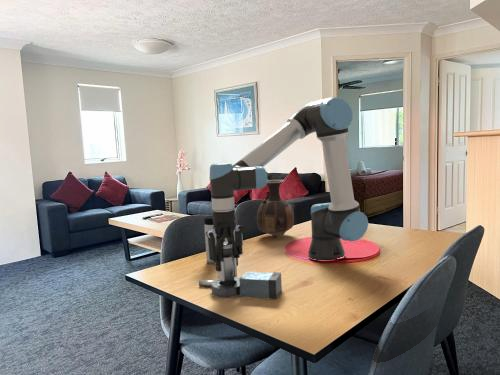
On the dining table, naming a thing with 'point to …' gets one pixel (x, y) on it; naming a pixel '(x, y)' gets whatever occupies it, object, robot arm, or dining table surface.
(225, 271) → the grey capped bottle
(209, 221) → the travel mug
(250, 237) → the dining table surface
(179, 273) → the dining table surface
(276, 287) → the grey machined bracket
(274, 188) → the vase
